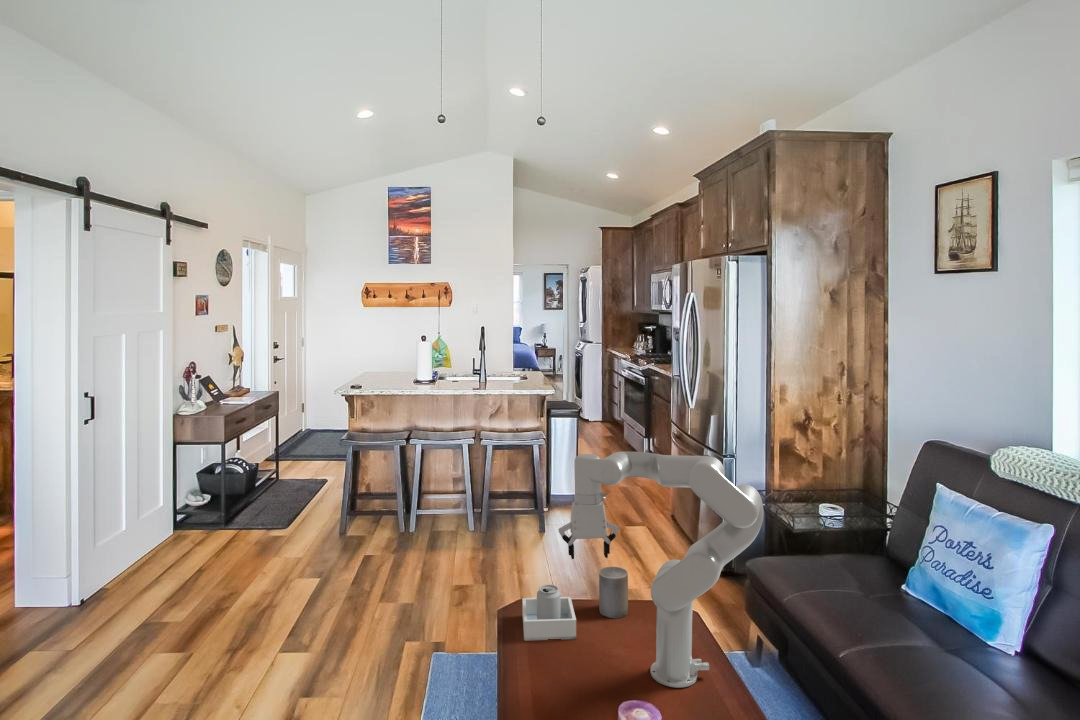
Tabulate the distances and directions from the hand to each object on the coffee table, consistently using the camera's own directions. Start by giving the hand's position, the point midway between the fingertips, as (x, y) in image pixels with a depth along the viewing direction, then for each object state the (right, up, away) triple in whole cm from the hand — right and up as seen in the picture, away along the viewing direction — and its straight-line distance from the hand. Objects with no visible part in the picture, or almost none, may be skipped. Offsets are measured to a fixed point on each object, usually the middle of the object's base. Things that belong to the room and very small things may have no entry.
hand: (589, 556), depth 177 cm
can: (-11, -28, +19) cm, 36 cm away
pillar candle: (+10, -28, +30) cm, 42 cm away
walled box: (-11, -29, +20) cm, 37 cm away
